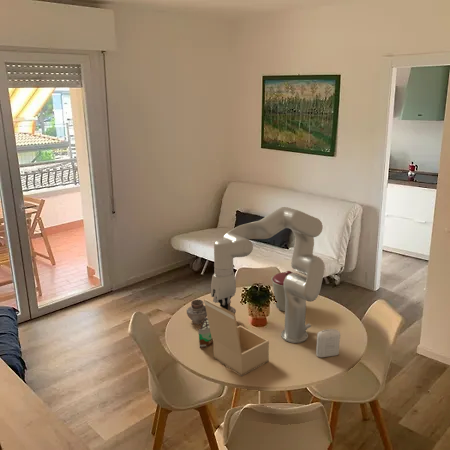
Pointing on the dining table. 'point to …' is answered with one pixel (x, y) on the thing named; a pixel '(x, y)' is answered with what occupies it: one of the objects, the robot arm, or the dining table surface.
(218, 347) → the carton
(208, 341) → the food container
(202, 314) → the pottery
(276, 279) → the canister
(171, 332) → the dining table surface
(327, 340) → the photo printer
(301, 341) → the robot arm
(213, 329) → the carton lid
